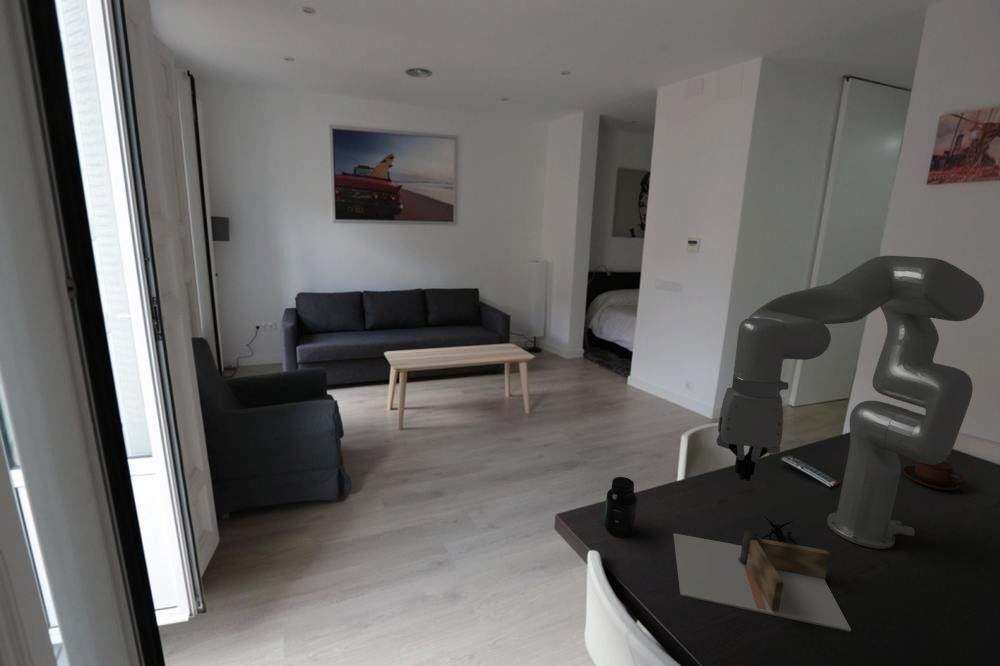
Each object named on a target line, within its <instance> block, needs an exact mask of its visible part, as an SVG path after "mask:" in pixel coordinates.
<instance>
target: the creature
mask: <svg viewBox="0 0 1000 666" xmlns="http://www.w3.org/2000/svg"><path fill="white" fill-rule="evenodd" d="M763 517H764V518H765V519H766V520H767V521H768V523H769V524H770V525H771V527H772V528H771V529H770V532H769V534H767V535H765V536H763V537H761V539H765V538H769V539H768V540H771V538H772V535H774V536H775V537H776V540H777V541H778V542H783V543H787V541H786V537H785V535H784V533H783V532H784V529H782V528H784V527H785V526H787V525H789V524H791V523H792V522H793V520H792V521H789V522H786V523H784V524H778V523H777V524H774V523H773V522H772V521H771V520H770V519H768V518H767V517H766V516H765V515H763ZM791 534H792V532H791V531H788V533H787V536H788V539H789V540H790V541H791V542H792V543H794V545H799V544H798V543H797V542H796V541H794V539H792V537H791Z"/></svg>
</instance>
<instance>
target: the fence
mask: <svg viewBox="0 0 1000 666" xmlns="http://www.w3.org/2000/svg"><path fill="white" fill-rule="evenodd" d="M750 540H757V542H758V543H759V545H760V546H761V548H762V549H763V551H764V553H765V554H766V556H767V557H768V559H769V561H770V562H771V564H772V565H773V567H774V568H775V569H777V570H783V571H788V572H793V573H798V574H804V575H809V576H814V577H819V578H825V579H826V576H827V571H828V566H829V561H830V556H831V554H830V552H829V551H828V550H825V549H821V548H815V547H810V546H806V545H805V546H804V545H799V544H798V545H796V544H792V543H787V542H786V543H784V542H783V541H781V542H779V541H776V540H771V539H770V540H769V539H765V538H764V539H762V538H758V534H757V533H756V532H754V531H751V530H745V531H743V538H742V544H741V546H742V550H741V556H740V561H741V563H743V564H744V565H747V559H748V553H749V546H750Z"/></svg>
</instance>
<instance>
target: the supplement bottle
mask: <svg viewBox="0 0 1000 666" xmlns="http://www.w3.org/2000/svg"><path fill="white" fill-rule="evenodd" d="M605 499H606V501H605V512H604V528H605V530H606V531H607V533H608V534H610V535H612V536H615V537H617V538H628V537H630V536H632V535H633V534H634V533H635V528H636V522H637V521H636V520H637V510H638V508H637V507H638V496H637V494H636V493H635V483H634V481H633V480H632V479H631V478H629V477H625V476H617V477H613V479H612V481H611V488H610V489H609V490H607V492H606V497H605Z"/></svg>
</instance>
